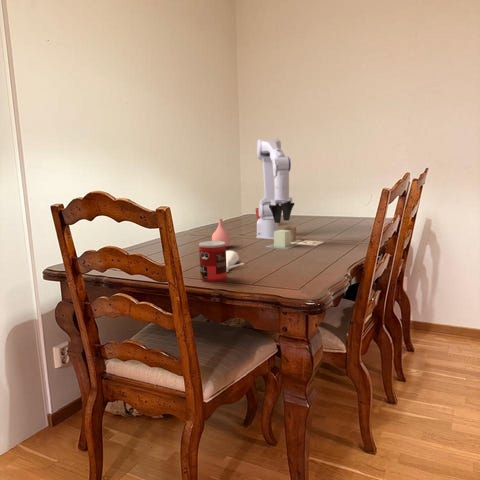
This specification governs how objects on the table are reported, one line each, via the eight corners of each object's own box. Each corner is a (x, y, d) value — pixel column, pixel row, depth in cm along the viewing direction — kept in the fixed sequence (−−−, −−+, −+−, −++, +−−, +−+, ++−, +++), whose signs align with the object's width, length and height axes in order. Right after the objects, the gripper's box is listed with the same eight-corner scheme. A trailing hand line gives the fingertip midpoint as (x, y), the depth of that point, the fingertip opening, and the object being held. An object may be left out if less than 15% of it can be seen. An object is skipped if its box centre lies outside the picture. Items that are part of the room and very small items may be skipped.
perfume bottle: (212, 246, 182) (211, 217, 180) (230, 246, 182) (230, 217, 180) (211, 250, 175) (210, 220, 173) (230, 249, 175) (229, 219, 173)
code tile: (295, 244, 182) (295, 243, 182) (305, 240, 190) (305, 240, 190) (315, 246, 178) (315, 245, 178) (324, 242, 185) (324, 241, 185)
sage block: (274, 246, 177) (273, 231, 176) (280, 244, 181) (279, 229, 180) (284, 247, 174) (284, 232, 173) (290, 245, 178) (290, 230, 177)
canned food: (200, 276, 135) (198, 241, 133) (226, 275, 136) (225, 240, 134) (200, 283, 128) (198, 245, 126) (227, 281, 128) (226, 244, 126)
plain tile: (274, 242, 188) (274, 241, 188) (284, 239, 195) (284, 238, 195) (293, 244, 183) (293, 243, 183) (302, 240, 190) (302, 240, 190)
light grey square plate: (265, 248, 176) (265, 246, 176) (277, 243, 185) (277, 242, 184) (287, 250, 171) (287, 248, 171) (298, 245, 179) (298, 244, 179)
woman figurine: (247, 248, 154) (241, 263, 137) (247, 260, 155) (242, 277, 138) (214, 248, 156) (205, 263, 138) (215, 260, 157) (205, 277, 139)
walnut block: (281, 241, 188) (281, 227, 187) (285, 239, 192) (285, 226, 191) (292, 242, 186) (292, 228, 185) (296, 240, 190) (296, 226, 189)
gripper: (282, 189, 165) (282, 224, 168) (298, 186, 177) (298, 219, 180) (265, 188, 169) (266, 223, 172) (283, 186, 181) (283, 219, 184)
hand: (281, 221), depth 176 cm, fingers open, 7 cm apart
